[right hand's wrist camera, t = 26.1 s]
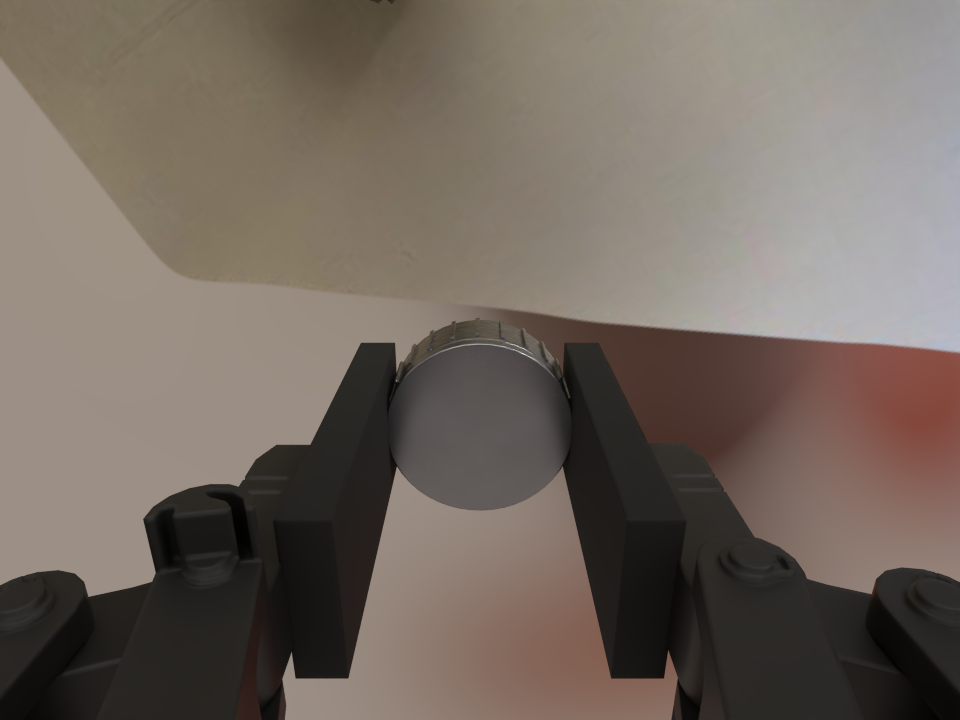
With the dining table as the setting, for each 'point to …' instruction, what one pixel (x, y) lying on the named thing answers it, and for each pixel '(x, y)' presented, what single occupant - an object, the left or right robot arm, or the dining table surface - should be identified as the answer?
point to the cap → (479, 416)
